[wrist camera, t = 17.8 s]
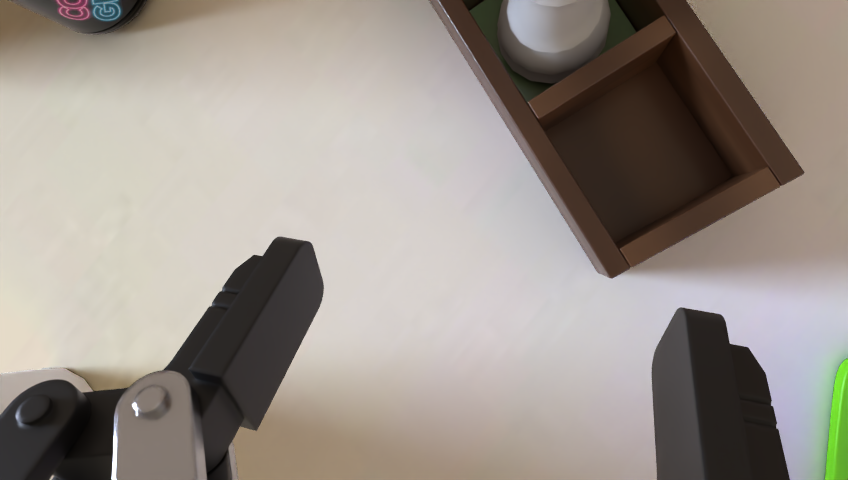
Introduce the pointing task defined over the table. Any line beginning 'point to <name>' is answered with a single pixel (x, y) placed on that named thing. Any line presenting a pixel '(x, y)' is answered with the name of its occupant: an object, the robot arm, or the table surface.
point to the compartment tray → (633, 129)
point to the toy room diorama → (838, 428)
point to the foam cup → (34, 383)
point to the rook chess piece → (551, 36)
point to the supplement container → (86, 13)
